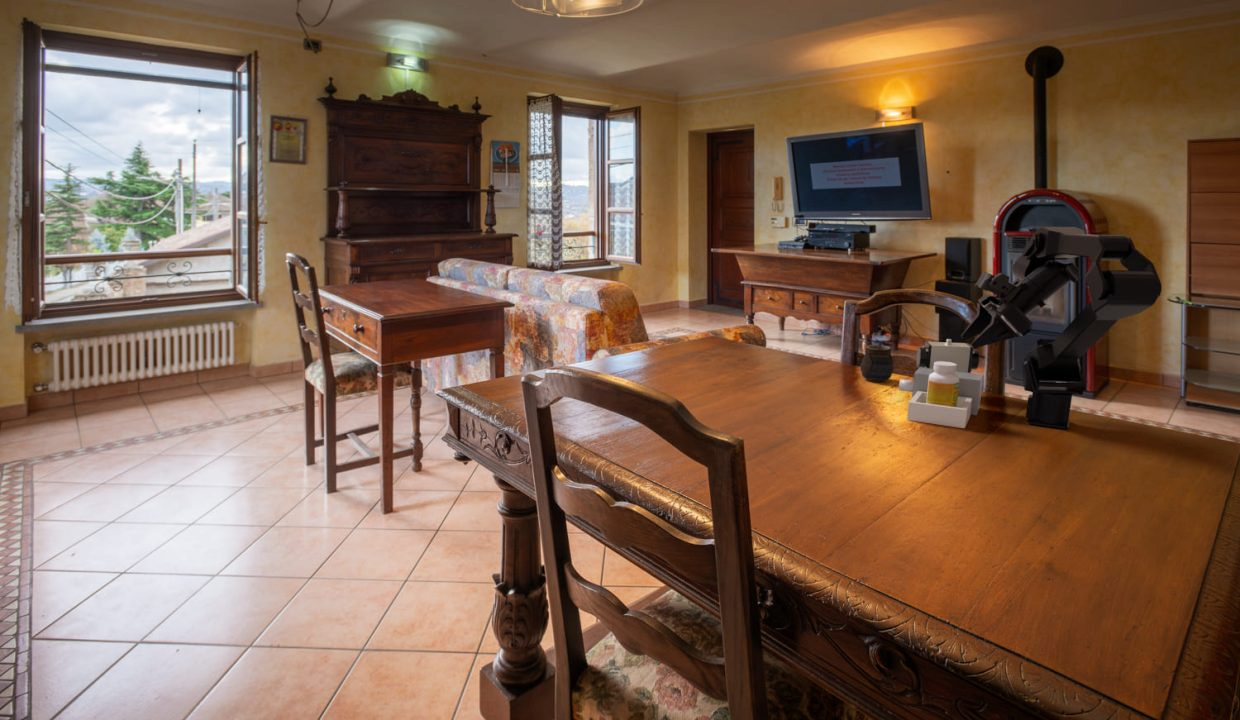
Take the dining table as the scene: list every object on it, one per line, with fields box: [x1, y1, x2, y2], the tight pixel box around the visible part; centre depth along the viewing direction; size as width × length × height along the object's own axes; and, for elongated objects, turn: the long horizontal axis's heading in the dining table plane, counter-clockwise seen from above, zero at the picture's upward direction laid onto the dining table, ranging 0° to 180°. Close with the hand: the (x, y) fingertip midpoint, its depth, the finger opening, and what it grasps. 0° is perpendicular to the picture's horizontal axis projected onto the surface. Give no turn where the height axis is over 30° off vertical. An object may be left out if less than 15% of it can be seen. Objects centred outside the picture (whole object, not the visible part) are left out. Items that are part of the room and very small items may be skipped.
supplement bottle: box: [926, 361, 959, 407], centre depth 134 cm, size 5×5×10 cm
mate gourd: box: [860, 341, 895, 383], centre depth 164 cm, size 7×8×10 cm
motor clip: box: [898, 367, 984, 429], centre depth 138 cm, size 15×16×7 cm
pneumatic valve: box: [916, 338, 980, 373], centre depth 153 cm, size 6×12×12 cm, turn 77°
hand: (967, 342), depth 139 cm, fingers open, 9 cm apart
